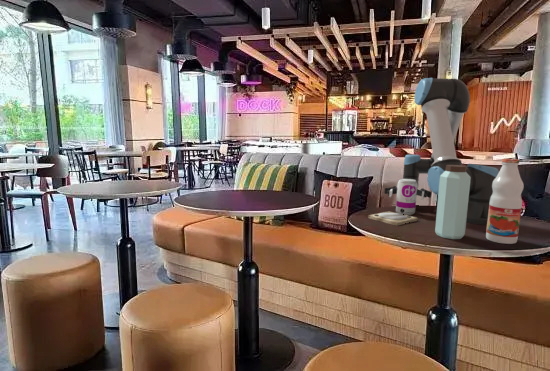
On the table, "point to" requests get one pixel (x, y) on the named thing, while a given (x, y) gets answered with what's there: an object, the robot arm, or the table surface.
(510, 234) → the fruit juice
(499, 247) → the table surface
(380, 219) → the dock board
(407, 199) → the supplement can
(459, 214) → the water bottle
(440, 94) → the robot arm
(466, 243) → the table surface
